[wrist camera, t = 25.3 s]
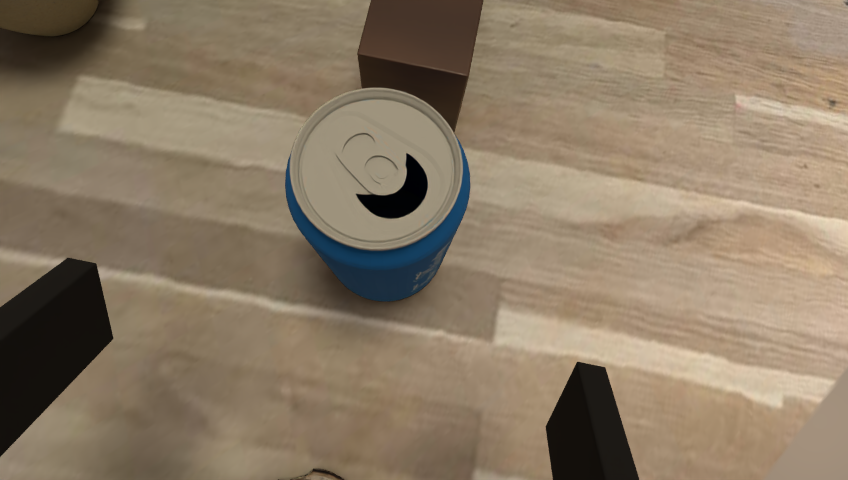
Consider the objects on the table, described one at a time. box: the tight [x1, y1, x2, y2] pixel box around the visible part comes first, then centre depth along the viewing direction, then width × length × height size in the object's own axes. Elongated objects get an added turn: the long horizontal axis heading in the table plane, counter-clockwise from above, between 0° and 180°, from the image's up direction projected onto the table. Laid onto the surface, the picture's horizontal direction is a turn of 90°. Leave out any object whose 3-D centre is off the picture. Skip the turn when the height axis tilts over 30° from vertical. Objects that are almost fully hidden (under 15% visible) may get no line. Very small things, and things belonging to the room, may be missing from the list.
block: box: [357, 0, 483, 132], centre depth 25 cm, size 5×5×8 cm
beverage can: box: [285, 88, 470, 301], centre depth 21 cm, size 6×6×12 cm
